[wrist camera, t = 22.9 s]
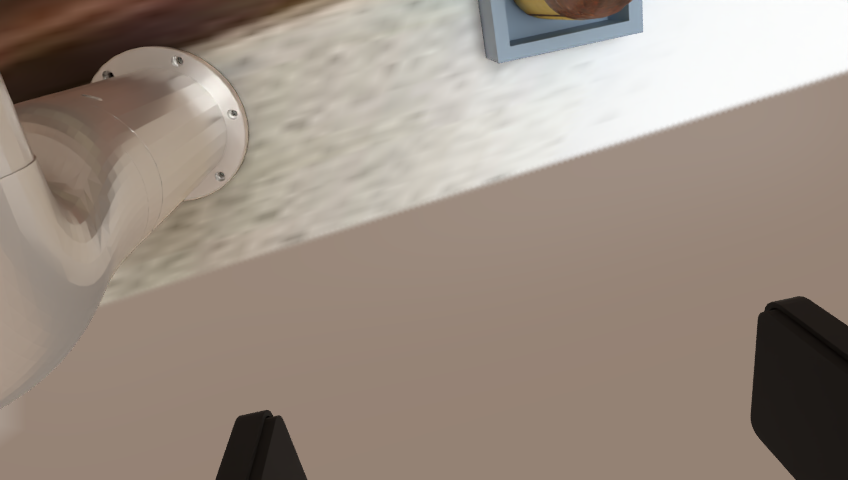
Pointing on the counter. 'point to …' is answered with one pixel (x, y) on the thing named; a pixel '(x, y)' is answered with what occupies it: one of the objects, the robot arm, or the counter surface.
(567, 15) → the sauce bottle
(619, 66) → the counter surface
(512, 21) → the caddy
